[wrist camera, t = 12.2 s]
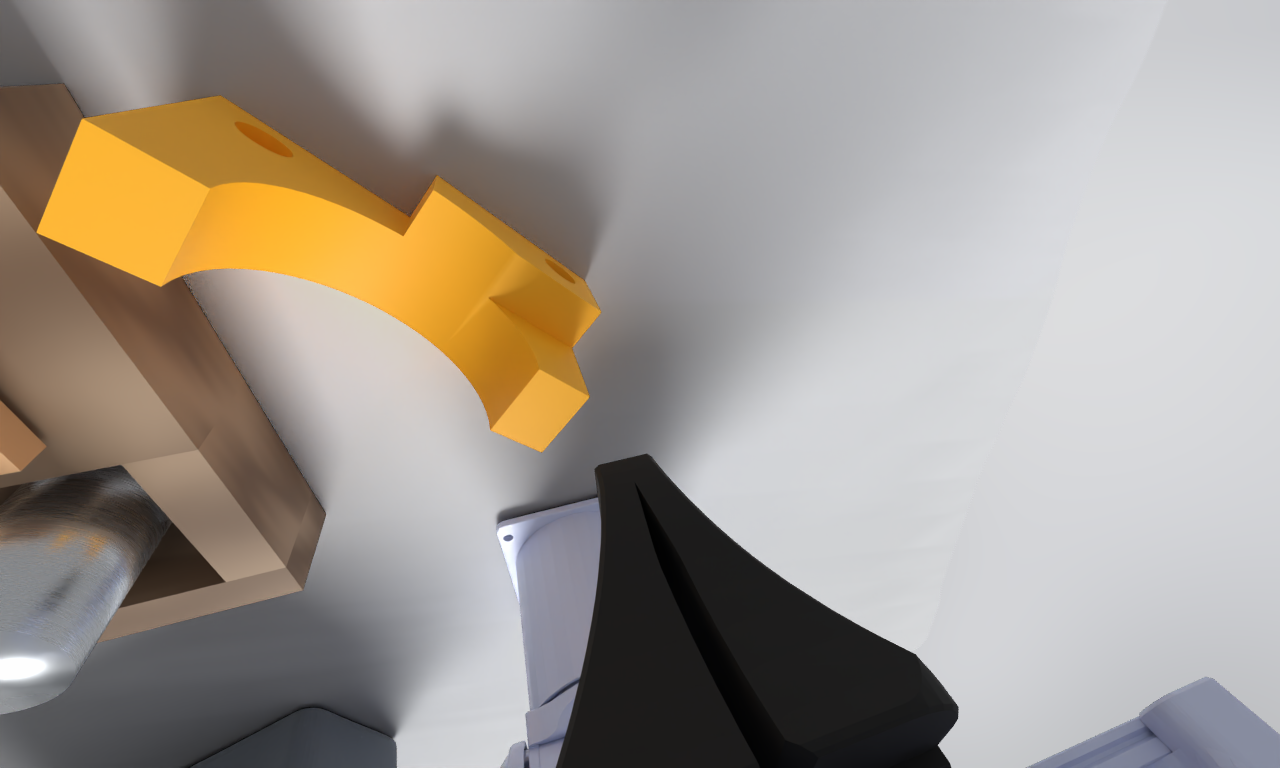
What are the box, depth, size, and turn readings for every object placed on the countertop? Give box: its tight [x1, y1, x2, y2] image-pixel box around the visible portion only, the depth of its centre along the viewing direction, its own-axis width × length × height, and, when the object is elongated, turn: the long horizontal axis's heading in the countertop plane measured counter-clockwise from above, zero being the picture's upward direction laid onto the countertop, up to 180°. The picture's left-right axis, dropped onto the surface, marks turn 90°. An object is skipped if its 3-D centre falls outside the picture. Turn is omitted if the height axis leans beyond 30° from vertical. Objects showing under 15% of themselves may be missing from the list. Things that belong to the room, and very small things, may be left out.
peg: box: [0, 465, 172, 715], centre depth 16 cm, size 4×4×8 cm
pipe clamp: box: [36, 95, 601, 452], centre depth 15 cm, size 12×4×6 cm, turn 48°
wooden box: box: [0, 84, 326, 643], centre depth 14 cm, size 17×10×6 cm, turn 2°
